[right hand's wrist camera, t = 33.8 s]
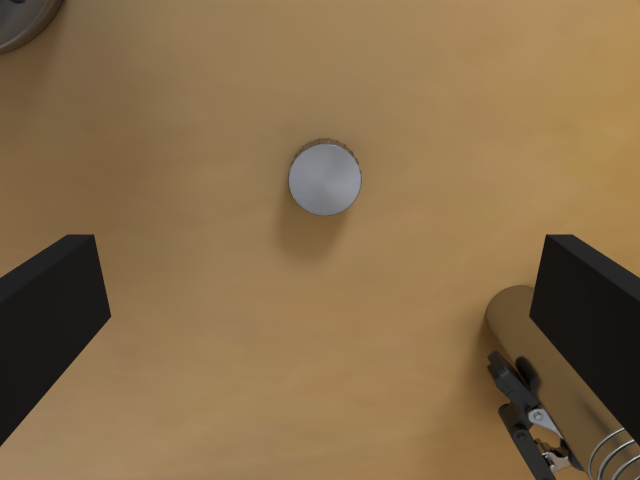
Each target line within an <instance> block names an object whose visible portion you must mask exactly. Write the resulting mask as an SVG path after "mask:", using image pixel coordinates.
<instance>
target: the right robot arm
mask: <svg viewBox="0 0 640 480" xmlns="http://www.w3.org/2000/svg"><path fill="white" fill-rule="evenodd" d="M62 1H63V0H0V54H1V53H5V52H8V51H10V50H13V49H16V48H18V47H20V46H21V45H23V44H25V43H27V42H28V41H30V40H31V39H32V38H34V37H35V36H36V35H37V34H39V33H40V32H41V31H42V30H43V29H44V28H45V27H46V25H47V24H48V23H49V22H50V21H51V19H52V18H53V16H54V15H55V13H56V12H57V10H58V8H59V6H60V4H61V3H62ZM110 317H111V313H110V308H109V304H108V299H107V294H106V289H105V285H104V280H103V275H102V270H101V266H100V261H99V256H98V252H97V247H96V242H95V237H94V235H66V236H65V237H63V238H61V239H60V240H58V241H57V242H55V243H54V244H52V245H51V246H49V247H48V248H46V249H44V250H43V251H41V252H40V253H38V254H37V255H35V256H34V257H32V258H31V259H29V260H27V261H26V262H24V263H23V264H21V265H20V266H18V267H17V268H15V269H14V270H12V271H10V272H9V273H7V274H6V275H4V276H3V277H1V278H0V447H1V445H2V444H3V443H4V442H5V441H6V439H7V438H8V437H9V436H10V435H11V434H12V432H13V431H14V430H15V429H16V428H17V427H18V425H19V424H20V423H21V422H22V421H23V419H24V418H25V417H26V416H27V415H28V414H29V412H30V411H31V410H32V409H33V408H34V407H35V405H36V404H37V403H38V402H39V401H40V400H41V398H42V397H43V396H44V395H45V394H46V392H47V391H48V390H49V389H50V388H51V387H52V385H53V384H54V383H55V382H56V381H57V380H58V378H59V377H60V376H61V375H62V374H63V373H64V371H65V370H66V369H67V368H68V367H69V365H70V364H71V363H72V362H73V361H74V360H75V358H76V357H77V356H78V355H79V354H80V353H81V351H82V350H83V349H84V348H85V347H86V346H87V344H88V343H89V342H90V341H91V340H92V338H93V337H94V336H95V335H96V334H97V333H98V331H99V330H100V329H101V328H102V327H103V326H104V324H105V323H106V322H107V321H108V320H109V319H110ZM529 317H530V319H531V320H532V321H533V322H534V323H535V324H536V326H537V327H538V328H539V329H540V330H541V331H542V333H543V334H544V335H545V336H546V337H547V338H548V340H549V341H550V342H551V343H552V344H553V346H554V347H555V348H556V349H557V350H558V351H559V353H560V354H561V355H562V356H563V357H564V358H565V360H566V361H567V362H568V363H569V364H570V365H571V367H572V368H573V369H574V370H575V371H576V373H577V374H578V375H579V376H580V377H581V378H582V380H583V381H584V382H585V383H586V384H587V385H588V387H589V388H590V389H591V390H592V391H593V392H594V394H595V395H596V396H597V397H598V398H599V400H600V401H601V402H602V403H603V404H604V405H605V407H606V408H607V409H608V410H609V411H610V412H611V414H612V415H613V416H614V417H615V418H616V420H617V421H618V422H619V423H620V424H621V425H622V427H623V428H624V429H625V430H626V431H627V432H628V434H629V435H630V436H631V437H632V438H633V439H634V441H635V442H636V443H637V444H638V445H639V447H640V278H639V277H637V276H636V275H634V274H633V273H631V272H630V271H628V270H626V269H625V268H623V267H622V266H620V265H619V264H617V263H616V262H614V261H613V260H611V259H609V258H608V257H606V256H605V255H603V254H602V253H600V252H599V251H597V250H596V249H594V248H592V247H591V246H589V245H588V244H586V243H585V242H583V241H582V240H580V239H579V238H577V237H575V236H574V235H546V237H545V242H544V247H543V252H542V256H541V261H540V266H539V270H538V275H537V280H536V285H535V289H534V294H533V299H532V304H531V308H530V313H529Z"/></svg>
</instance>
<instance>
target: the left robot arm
mask: <svg viewBox="0 0 640 480" xmlns="http://www.w3.org/2000/svg"><path fill="white" fill-rule="evenodd" d="M487 357H488V359H489V361H490V363H491V364H490V365H489V366H487V369H488V372H489V374H490V376H491V377H492V379H493V381H494V383H495V385H496V386H497V388H498V389H500V390H501V391H502V392H503V393H504V394H505V395H506V396H507V397H508V398H509V399H510V400H511V402H510V404H504V405H502V406H501V407H500V408H499V410H498V413H499V415H500V417H501V419H502V421H503V423H504V424H505V426H506V428H507V430H508V432H509V434H510V436H511V438H512V440H513V441H514V443H515V445H516V447H517V448H518V450H519V452H520V453H521V455H522V457H523V458H524V460H525V462H526V464H527V465H528V467H529V469H530V470H531V472H532V474H533V475H534V477H535V479H536V480H556V478H555V477H554V475H553V473H555V472H557V471H560V470H562V469H565V468H567V467H570V466H573V467H574V468H576V469H578V470H580V471H585V470H584V469H583V468H582V466H581V465H580V463H579V462H578V460H577V459H576V457H575V456H574V454H573V453H572V451H571V450H570V448H569V447H568V445H567V444H566V442H565V441H564V439H563V438H562V436H561V435H560V433H559V432H558V430H557V429H556V427H555V426H554V424H553V423H552V421H551V420H550V418H549V417H548V415H547V414H546V412H545V411H544V409H543V408H542V406H541V405H540V403H539V402H538V400H537V399H536V397H535V396H534V394H533V393H532V391H531V390H530V388H529V387H528V385H527V384H526V382H525V381H524V379H523V378H522V376H521V375H520V373H519V372H518V371H517V370H516V369H515V368H514V367H513V366H512V365H511V364H510V363H509V362H507V361H506V360H505V359H504V358H503V357H502V356H501V355H500V354H499V353H498V352H497V351H496V350H495V351H494V352H492V353H491V354H490V355H488V356H487ZM533 424H537V425H540V426H542V427H545V428H547V429H550V430H552V431H554V432H555V433H556V434H557V435H558V436H559V437H560V447H559V448H553V447H551V446H550V445H549V444H548V443H545V442H541V440H540V439H538V438H536V439H535V440H533V438H532V436H531V434H530V433H529V431H528V430H529V429H530V428H531V427H532V425H533Z"/></svg>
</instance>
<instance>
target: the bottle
mask: <svg viewBox="0 0 640 480" xmlns="http://www.w3.org/2000/svg"><path fill="white" fill-rule="evenodd" d="M533 294H534V288H532V287H528V286H515V287H511V288H508V289H505V290H503V291H502V292H500V293H499V294H497V295H496V296H495V297H494V298H493V299H492V301H491V302H490V304H489V306H488V308H487V312H486V321H487V325H488V327H489V328H490V330H491V331H492V333H493V334H494V336H495V337H496V339H497V340H498V342H499V343H500V345H501V346H502V348H503V349H504V351H505V352H506V354H507V355H508V357H509V358H510V360H511V361H512V363H513V364H514V366H515V367H516V369H517V370H518V372H519V373H520V375H521V376H522V378H523V379H524V381H525V382H526V384H527V385H528V387H529V388H530V390H531V391H532V393H533V394H534V396H535V397H536V399H537V400H538V402H539V403H540V405H541V406H542V408H543V409H544V411H545V412H546V414H547V415H548V417H549V418H550V420H551V421H552V423H553V424H554V426H555V427H556V429H557V430H558V432H559V433H560V435H561V436H562V438H563V439H564V441H565V442H566V444H567V445H568V447H569V448H570V450H571V451H572V453H573V454H574V456H575V457H576V459H577V460H578V462H579V463H580V465H581V466H582V468H583V469H584V470H585V472H586V473H587V475H588V476H589V478H590V479H591V480H640V447H639V445H638V444H637V443H636V442H635V441H634V439H633V438H632V437H631V436H630V435H629V434H628V432H627V431H626V430H625V429H624V428H623V427H622V425H621V424H620V423H619V422H618V421H617V420H616V418H615V417H614V416H613V415H612V414H611V412H610V411H609V410H608V409H607V408H606V407H605V405H604V404H603V403H602V402H601V401H600V400H599V398H598V397H597V396H596V395H595V394H594V392H593V391H592V390H591V389H590V388H589V387H588V385H587V384H586V383H585V382H584V381H583V380H582V378H581V377H580V376H579V375H578V374H577V373H576V371H575V370H574V369H573V368H572V367H571V365H570V364H569V363H568V362H567V361H566V360H565V358H564V357H563V356H562V355H561V354H560V353H559V351H558V350H557V349H556V348H555V347H554V346H553V344H552V343H551V342H550V341H549V340H548V338H547V337H546V336H545V335H544V334H543V333H542V331H541V330H540V329H539V328H538V327H537V326H536V324H535V323H534V322H533V321H532V320H531V319H530V317H529V313H530V308H531V304H532V299H533Z"/></svg>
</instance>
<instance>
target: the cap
mask: <svg viewBox="0 0 640 480" xmlns="http://www.w3.org/2000/svg"><path fill="white" fill-rule="evenodd" d="M358 165H359V163H358V161H357V159H355V157H354V154H353V152H352V151H350V150H349V148H347V147H346V145H344V144H342V143H340V142H338V140H337V141H335V140H331V139H329V138H328V139H318V140H315V141H312V142H311V141H310V143H308V144H306V145H305V146H304V147H303V146H302V148H301V149H300V150H299V152H298V153H296V155H295V158H294V161H292V163H291V166H290V167H291V168H290V172H289V175H288V177H289V188H290V192H291V194H292V196H293V198H294V200H295V201H296V202H297V204H298V205H299V206H300V207H302V208H303V209H304V210H306V211H308V212H310V213H312V214H315V215H320V216H329V215H335V214H338V213H340V212H342V211H344V210H345V209H347V208H348V207H349V206H350V205H351V204H352V203H353V202H354V201H355V199H356V198H357V196H358V194H359V191H360V187H361V183H362V182H361V171H360V168H359V166H358Z"/></svg>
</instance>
